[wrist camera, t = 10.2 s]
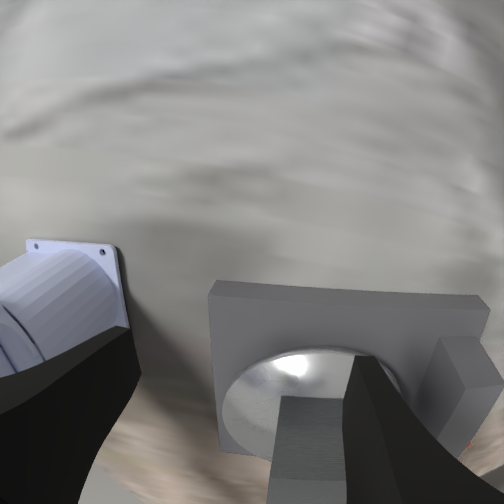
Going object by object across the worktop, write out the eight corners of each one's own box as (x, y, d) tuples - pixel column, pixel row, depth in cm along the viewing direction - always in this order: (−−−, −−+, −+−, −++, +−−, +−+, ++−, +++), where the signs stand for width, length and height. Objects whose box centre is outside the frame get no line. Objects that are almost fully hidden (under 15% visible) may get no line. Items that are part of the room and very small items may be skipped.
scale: (225, 434, 26) (206, 496, 20) (216, 280, 20) (178, 345, 14) (414, 441, 24) (426, 500, 17) (478, 295, 18) (526, 354, 11)
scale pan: (227, 451, 22) (225, 458, 22) (220, 336, 18) (217, 344, 17) (374, 459, 21) (375, 467, 20) (423, 347, 16) (427, 356, 16)
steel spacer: (276, 437, 20) (265, 509, 14) (281, 395, 18) (269, 477, 12) (340, 440, 19) (342, 512, 13) (354, 398, 17) (361, 480, 12)
